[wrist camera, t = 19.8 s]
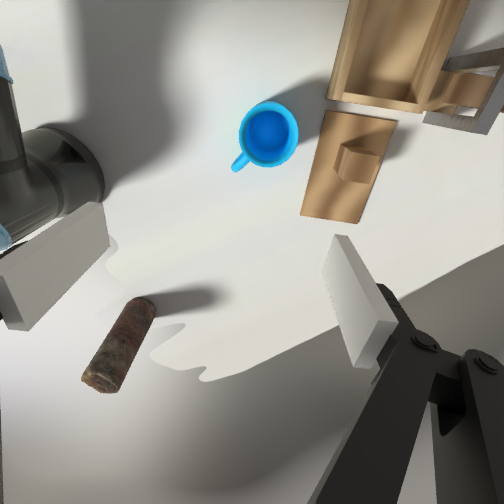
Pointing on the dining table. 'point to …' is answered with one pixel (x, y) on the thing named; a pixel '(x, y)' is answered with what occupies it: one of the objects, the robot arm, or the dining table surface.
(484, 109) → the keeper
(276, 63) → the dining table surface
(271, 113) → the mug
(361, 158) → the lid
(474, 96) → the bar
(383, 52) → the toolbox
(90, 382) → the brown piece
